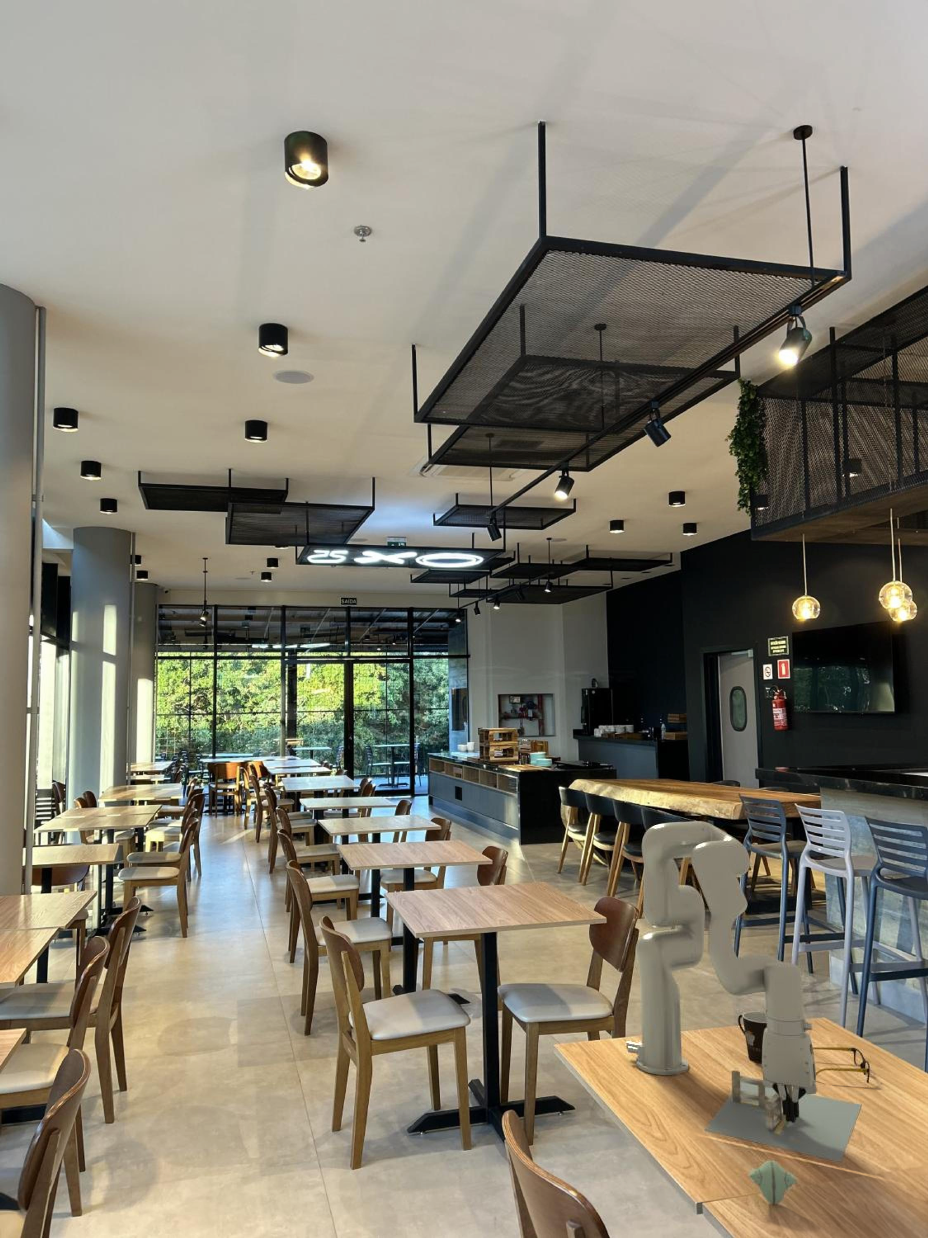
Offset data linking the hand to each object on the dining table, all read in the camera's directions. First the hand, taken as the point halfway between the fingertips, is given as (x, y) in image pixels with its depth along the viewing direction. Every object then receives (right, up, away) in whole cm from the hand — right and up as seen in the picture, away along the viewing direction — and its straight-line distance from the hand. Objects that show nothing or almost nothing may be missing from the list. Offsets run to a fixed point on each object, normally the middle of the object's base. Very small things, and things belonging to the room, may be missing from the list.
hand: (791, 1119), depth 183 cm
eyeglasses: (+22, -7, +32) cm, 39 cm away
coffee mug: (+7, -7, +41) cm, 42 cm away
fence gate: (-2, -2, +3) cm, 4 cm away
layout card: (+1, -3, +5) cm, 6 cm away
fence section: (-2, -3, +11) cm, 11 cm away
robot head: (-13, +1, -28) cm, 31 cm away
